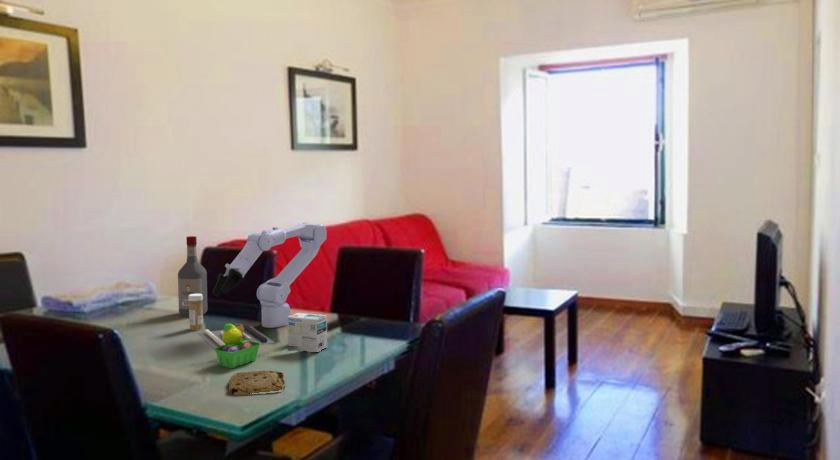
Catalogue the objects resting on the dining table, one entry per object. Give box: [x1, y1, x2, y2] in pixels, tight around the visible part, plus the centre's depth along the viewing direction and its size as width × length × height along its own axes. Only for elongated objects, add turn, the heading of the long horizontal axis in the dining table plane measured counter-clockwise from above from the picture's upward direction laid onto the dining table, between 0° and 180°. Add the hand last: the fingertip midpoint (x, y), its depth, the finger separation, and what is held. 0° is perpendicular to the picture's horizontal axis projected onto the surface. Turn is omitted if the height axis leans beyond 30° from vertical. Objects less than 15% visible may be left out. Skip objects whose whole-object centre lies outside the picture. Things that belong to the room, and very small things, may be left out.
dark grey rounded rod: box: [243, 324, 268, 342], centre depth 206 cm, size 1×21×1 cm, turn 33°
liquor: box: [177, 235, 208, 317], centre depth 240 cm, size 9×9×30 cm
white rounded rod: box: [204, 329, 225, 346], centre depth 199 cm, size 1×21×1 cm, turn 33°
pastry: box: [228, 370, 286, 397], centre depth 163 cm, size 17×17×3 cm
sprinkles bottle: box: [188, 294, 204, 332], centre depth 212 cm, size 5×5×14 cm
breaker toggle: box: [231, 323, 244, 338], centre depth 202 cm, size 4×3×4 cm
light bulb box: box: [287, 312, 328, 353], centre depth 195 cm, size 11×7×11 cm, turn 71°
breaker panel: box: [197, 325, 276, 350], centre depth 202 cm, size 18×24×2 cm
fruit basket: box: [213, 323, 261, 369], centre depth 181 cm, size 11×9×11 cm
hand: (218, 293), depth 200 cm, fingers open, 7 cm apart
